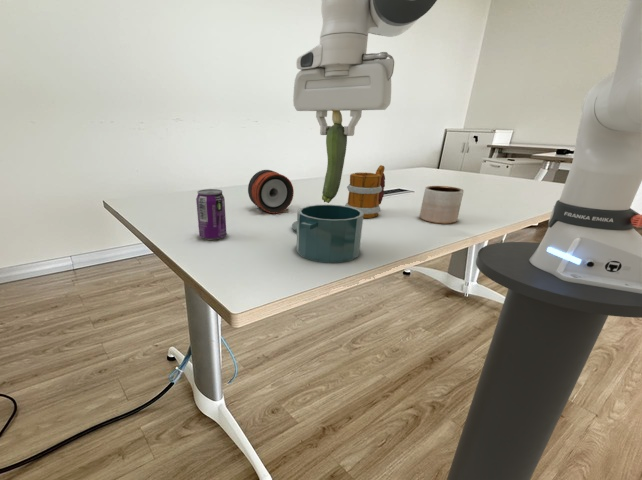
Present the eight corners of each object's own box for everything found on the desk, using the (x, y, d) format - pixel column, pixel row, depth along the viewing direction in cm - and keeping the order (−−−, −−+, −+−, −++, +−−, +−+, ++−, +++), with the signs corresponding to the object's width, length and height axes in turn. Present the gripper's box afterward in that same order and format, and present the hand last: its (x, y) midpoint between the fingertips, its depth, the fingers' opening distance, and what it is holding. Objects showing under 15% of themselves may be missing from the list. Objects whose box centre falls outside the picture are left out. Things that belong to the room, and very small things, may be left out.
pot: (374, 246, 84) (379, 208, 80) (333, 272, 70) (336, 227, 66) (323, 235, 93) (325, 200, 89) (277, 255, 79) (277, 215, 75)
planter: (439, 214, 114) (445, 184, 110) (465, 222, 105) (472, 190, 101) (411, 216, 111) (417, 186, 107) (435, 225, 102) (442, 193, 98)
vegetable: (336, 200, 79) (346, 104, 71) (343, 205, 75) (355, 103, 67) (317, 201, 78) (325, 103, 70) (324, 206, 75) (333, 103, 66)
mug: (337, 214, 114) (341, 166, 108) (367, 206, 124) (372, 163, 117) (364, 220, 106) (370, 170, 100) (393, 212, 116) (400, 166, 110)
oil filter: (257, 215, 112) (256, 174, 106) (246, 207, 122) (245, 169, 117) (293, 212, 116) (294, 172, 110) (279, 204, 126) (280, 167, 121)
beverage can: (229, 239, 89) (226, 192, 84) (201, 242, 87) (197, 194, 82) (223, 232, 95) (220, 188, 90) (197, 234, 93) (193, 189, 88)
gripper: (402, 53, 61) (391, 136, 67) (307, 63, 73) (304, 133, 79) (388, 47, 57) (378, 137, 63) (289, 59, 69) (288, 134, 74)
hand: (336, 135), depth 71 cm, fingers closed on vegetable, 4 cm apart
